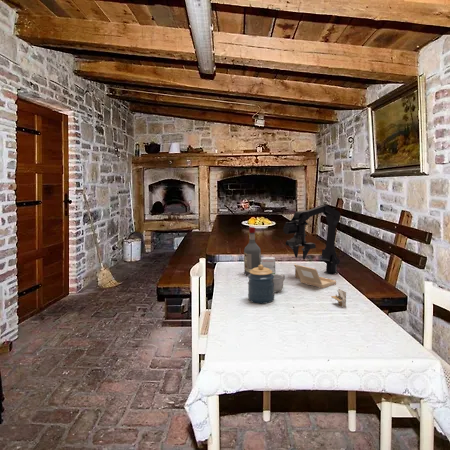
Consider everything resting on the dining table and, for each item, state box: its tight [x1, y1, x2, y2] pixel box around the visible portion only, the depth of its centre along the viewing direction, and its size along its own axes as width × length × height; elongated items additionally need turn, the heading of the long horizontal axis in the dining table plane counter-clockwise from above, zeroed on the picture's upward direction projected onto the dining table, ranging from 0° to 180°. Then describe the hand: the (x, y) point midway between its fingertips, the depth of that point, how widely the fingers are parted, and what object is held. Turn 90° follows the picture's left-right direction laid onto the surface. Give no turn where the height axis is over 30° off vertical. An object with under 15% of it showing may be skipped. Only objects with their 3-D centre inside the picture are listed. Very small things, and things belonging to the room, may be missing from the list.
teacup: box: [273, 273, 286, 293], centre depth 182 cm, size 14×11×8 cm
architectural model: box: [330, 288, 347, 308], centre depth 158 cm, size 3×7×7 cm, turn 16°
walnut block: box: [294, 267, 300, 280], centre depth 204 cm, size 4×4×6 cm
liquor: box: [243, 226, 262, 277], centre depth 213 cm, size 9×9×30 cm
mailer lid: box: [294, 263, 322, 284], centre depth 187 cm, size 11×15×1 cm
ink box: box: [261, 256, 276, 274], centre depth 209 cm, size 9×5×12 cm, turn 86°
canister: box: [247, 264, 275, 304], centre depth 167 cm, size 13×13×18 cm
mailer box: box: [299, 276, 337, 289], centre depth 193 cm, size 12×15×2 cm
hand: (300, 258), depth 203 cm, fingers open, 6 cm apart
